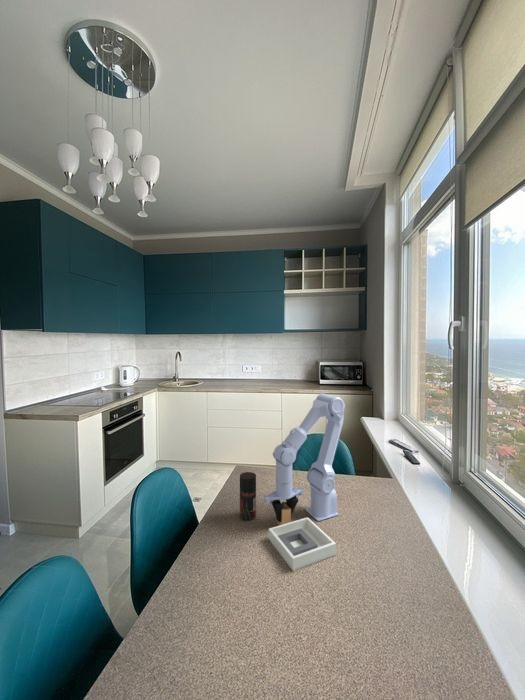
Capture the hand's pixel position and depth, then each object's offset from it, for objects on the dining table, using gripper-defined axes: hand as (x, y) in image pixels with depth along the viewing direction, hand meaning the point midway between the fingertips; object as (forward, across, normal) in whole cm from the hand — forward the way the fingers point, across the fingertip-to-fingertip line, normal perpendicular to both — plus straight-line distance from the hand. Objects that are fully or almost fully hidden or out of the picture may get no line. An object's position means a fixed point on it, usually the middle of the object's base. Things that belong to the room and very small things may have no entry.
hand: (284, 518), depth 105 cm
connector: (+2, 0, 0) cm, 2 cm away
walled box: (+2, +1, +12) cm, 13 cm away
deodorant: (+2, +10, -10) cm, 14 cm away
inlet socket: (+2, +2, +12) cm, 13 cm away
